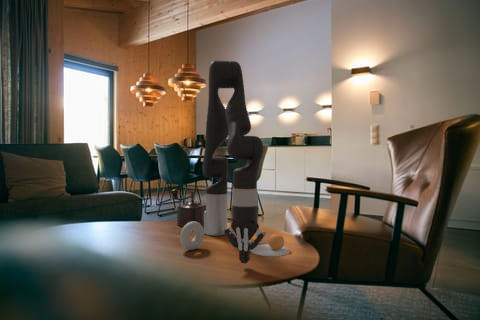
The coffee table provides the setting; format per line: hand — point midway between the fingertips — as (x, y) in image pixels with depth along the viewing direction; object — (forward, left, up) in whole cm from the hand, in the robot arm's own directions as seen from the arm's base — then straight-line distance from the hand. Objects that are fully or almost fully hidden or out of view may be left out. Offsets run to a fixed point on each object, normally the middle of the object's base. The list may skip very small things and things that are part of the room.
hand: (244, 262), depth 90 cm
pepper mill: (-48, +42, -2) cm, 64 cm away
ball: (+3, +22, +1) cm, 22 cm away
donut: (-24, +9, -2) cm, 26 cm away
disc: (+1, +20, -2) cm, 20 cm away
